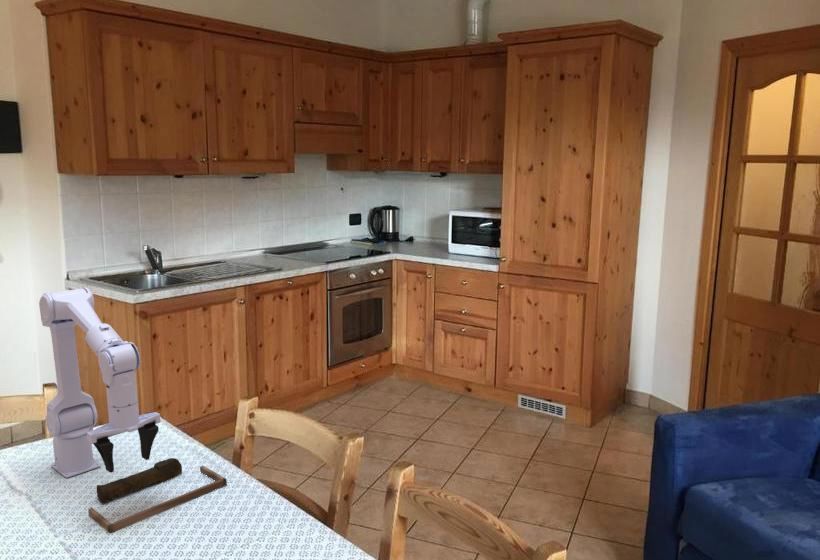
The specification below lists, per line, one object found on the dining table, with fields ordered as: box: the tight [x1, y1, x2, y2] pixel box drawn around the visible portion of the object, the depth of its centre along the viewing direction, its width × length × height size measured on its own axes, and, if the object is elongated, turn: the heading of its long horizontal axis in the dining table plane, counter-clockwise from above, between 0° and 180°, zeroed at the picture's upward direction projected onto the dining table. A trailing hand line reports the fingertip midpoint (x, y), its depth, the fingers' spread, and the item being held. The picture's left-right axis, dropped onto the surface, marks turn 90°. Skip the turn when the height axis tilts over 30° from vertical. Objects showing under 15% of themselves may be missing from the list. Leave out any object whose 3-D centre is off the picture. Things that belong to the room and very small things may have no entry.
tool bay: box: [88, 465, 228, 534], centre depth 147 cm, size 10×27×2 cm, turn 138°
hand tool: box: [96, 457, 183, 504], centre depth 153 cm, size 19×4×5 cm, turn 133°
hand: (128, 464), depth 142 cm, fingers open, 7 cm apart
